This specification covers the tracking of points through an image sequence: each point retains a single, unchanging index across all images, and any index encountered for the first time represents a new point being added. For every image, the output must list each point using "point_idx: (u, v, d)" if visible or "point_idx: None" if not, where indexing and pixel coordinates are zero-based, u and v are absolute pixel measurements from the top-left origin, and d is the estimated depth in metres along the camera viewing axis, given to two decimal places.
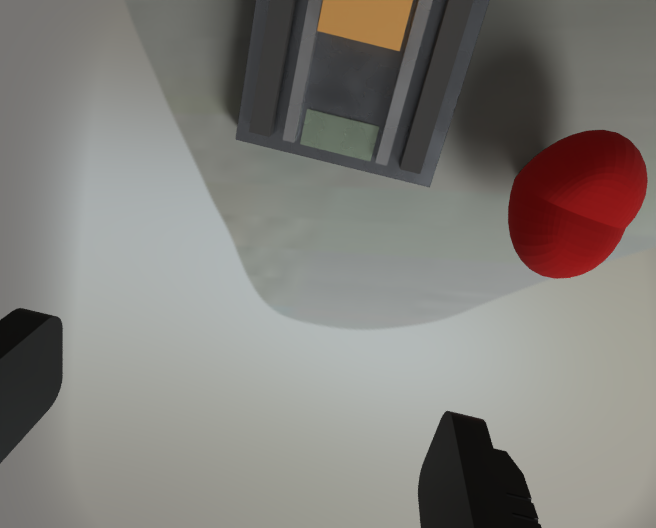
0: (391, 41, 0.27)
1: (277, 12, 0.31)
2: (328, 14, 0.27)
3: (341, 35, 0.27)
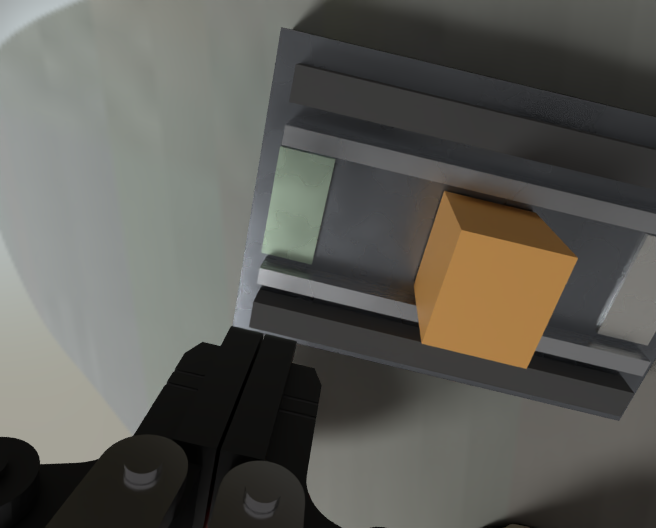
0: (436, 333, 0.18)
1: (483, 126, 0.19)
2: (483, 247, 0.17)
3: (450, 266, 0.17)
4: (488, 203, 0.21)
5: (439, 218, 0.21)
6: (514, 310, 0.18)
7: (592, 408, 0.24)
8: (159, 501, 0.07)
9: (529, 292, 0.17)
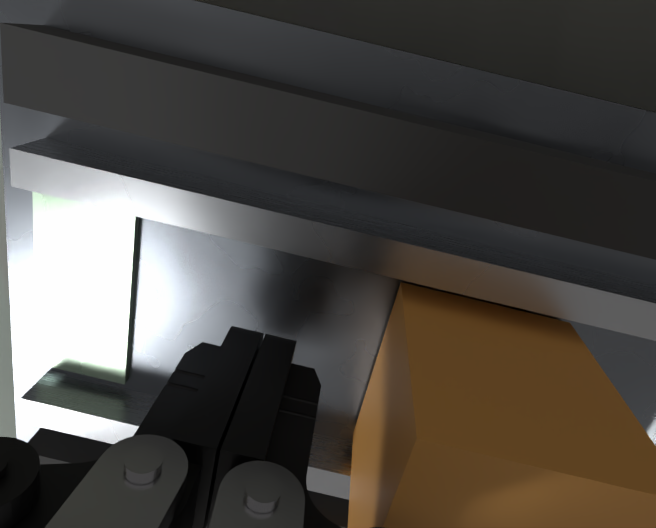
0: None
1: (397, 154, 0.09)
2: (469, 475, 0.07)
3: (395, 506, 0.08)
4: (482, 308, 0.11)
5: (390, 338, 0.11)
6: None
7: None
8: (159, 501, 0.07)
9: None
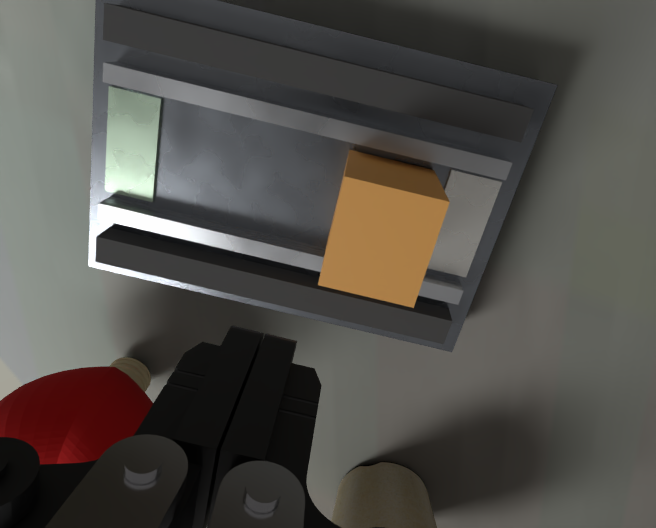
0: (330, 275, 0.20)
1: (281, 62, 0.21)
2: (365, 192, 0.19)
3: (337, 210, 0.19)
4: (389, 160, 0.23)
5: None
6: (397, 251, 0.19)
7: (417, 336, 0.25)
8: (159, 501, 0.07)
9: (410, 234, 0.19)
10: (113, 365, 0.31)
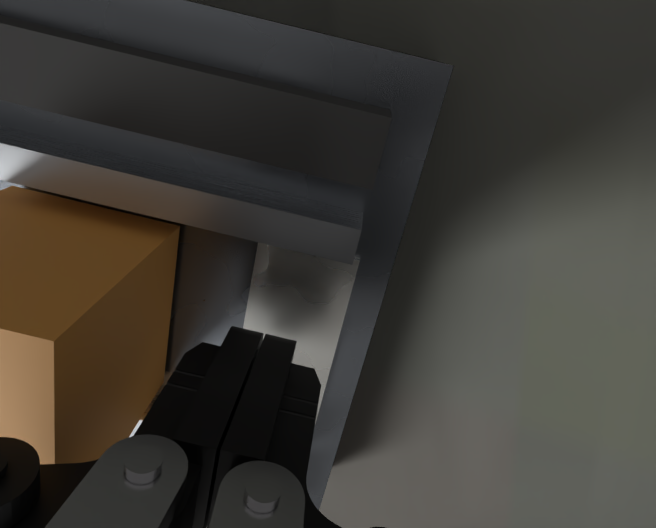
0: None
1: None
2: None
3: None
4: (82, 209, 0.11)
5: None
6: None
7: None
8: (159, 501, 0.07)
9: None
10: None
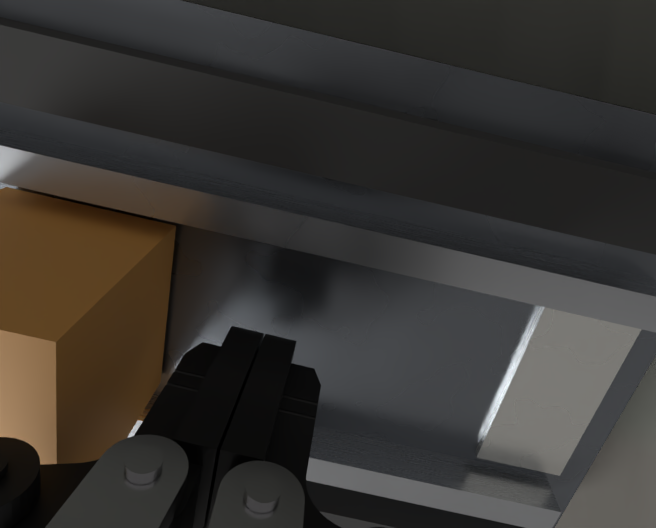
0: None
1: (199, 106, 0.10)
2: None
3: None
4: (77, 209, 0.11)
5: None
6: None
7: None
8: (160, 501, 0.07)
9: None
10: None
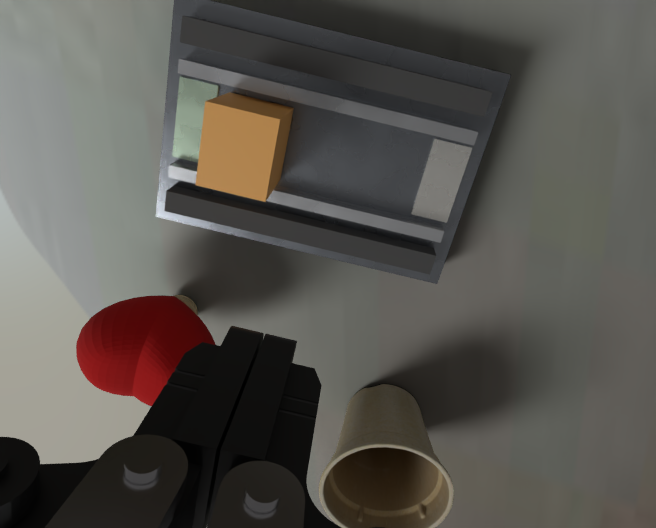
0: (203, 177, 0.28)
1: (309, 58, 0.29)
2: (221, 113, 0.26)
3: (203, 127, 0.27)
4: (258, 100, 0.30)
5: None
6: (248, 158, 0.27)
7: (409, 268, 0.33)
8: (159, 501, 0.07)
9: (255, 144, 0.27)
10: None
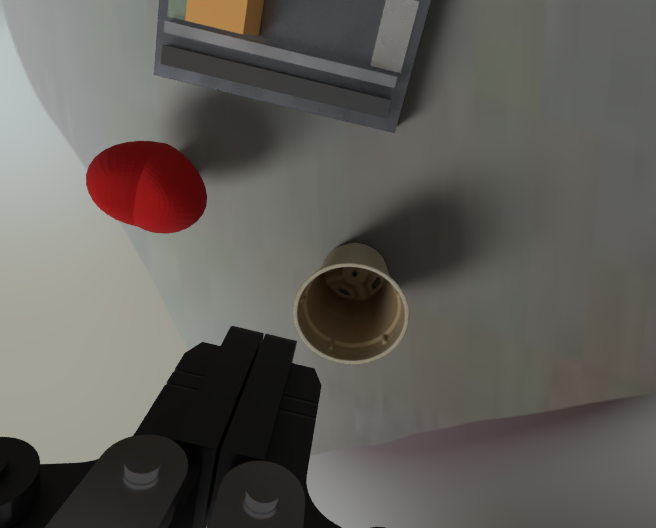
0: (191, 12, 0.34)
1: None
2: None
3: None
4: None
5: None
6: None
7: (369, 113, 0.39)
8: (159, 501, 0.07)
9: None
10: None
